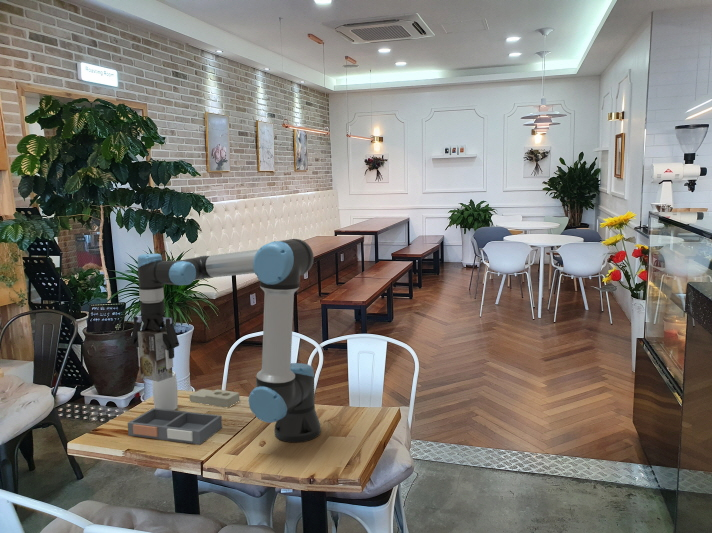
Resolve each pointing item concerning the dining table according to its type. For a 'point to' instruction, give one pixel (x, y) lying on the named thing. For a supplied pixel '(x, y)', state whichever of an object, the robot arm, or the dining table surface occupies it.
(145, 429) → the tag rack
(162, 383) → the cup
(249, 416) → the dining table surface
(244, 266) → the robot arm
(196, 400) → the electrical outlet
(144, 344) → the coffee box
